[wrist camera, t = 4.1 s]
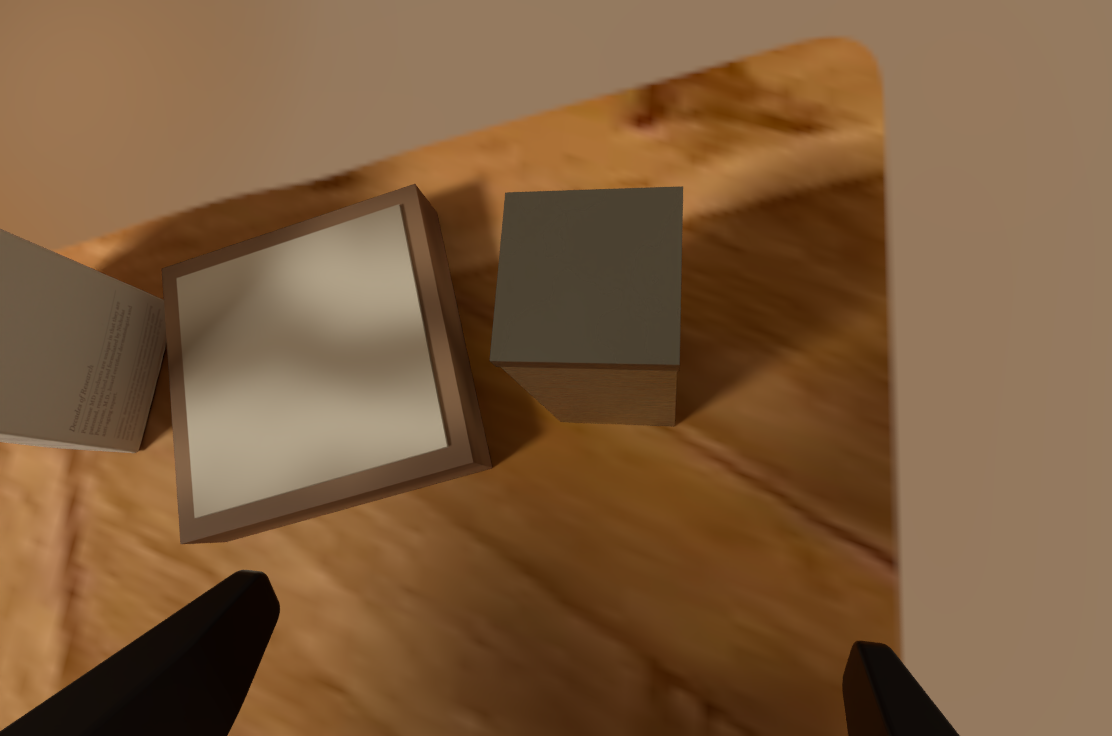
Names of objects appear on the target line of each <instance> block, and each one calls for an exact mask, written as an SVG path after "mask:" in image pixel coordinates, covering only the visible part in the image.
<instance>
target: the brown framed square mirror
mask: <svg viewBox="0 0 1112 736" xmlns="http://www.w3.org/2000/svg"><path fill="white" fill-rule="evenodd" d="M162 280H163V295H164V310H165V324H166V339H167V353H168V368H169V382H170V397H171V411H172V426H173V441H174V455H175V470H176V484H177V499H178V513H179V528H180V542H181V544H195V543H217V542H228V541H231V540H235V539H239V538H242V537H246V536H249V535H253V534H257V533H260V532H264V531H267V530H271V529H275V528H278V527H282V526H285V525H289V524H293V523H296V522H300V521H303V520H307V519H311V518H314V517H318V516H321V515H325V514H329V513H332V512H336V511H339V510H343V509H347V508H350V507H354V506H357V505H361V504H365V503H368V502H372V501H375V500H379V499H383V498H386V497H390V496H393V495H397V494H401V493H404V492H408V491H411V490H415V489H419V488H422V487H426V486H430V485H433V484H437V483H440V482H444V481H448V480H451V479H455V478H458V477H462V476H466V475H469V474H473V473H476V472H480V471H484V470H487V469H491V468H492V464H491V460H490V455H489V451H488V446H487V441H486V437H485V432H484V428H483V423H482V418H481V414H480V409H479V405H478V400H477V395H476V391H475V386H474V382H473V377H472V372H471V368H470V363H469V359H468V354H467V349H466V345H465V340H464V335H463V331H462V326H461V322H460V317H459V312H458V308H457V303H456V299H455V294H454V289H453V285H452V280H451V276H450V271H449V266H448V262H447V257H446V253H445V248H444V243H443V239H442V234H441V230H440V225H439V220H438V216H437V212H436V211H435V209H434V208H433V207H432V206H431V204H430V203H429V202H428V200H427V199H426V198H425V196H424V195H423V194H422V192H421V191H420V190H419V188H418V187H417V186H416V184H413V185H410V186H407V187H404V188H401V189H398V190H395V191H392V192H389V193H386V194H383V195H380V196H377V197H374V198H371V199H368V200H365V201H362V202H359V203H356V204H353V205H350V206H347V207H344V208H341V209H338V210H335V211H332V212H329V213H326V214H323V215H320V216H317V217H314V218H311V219H309V220H306V221H303V222H300V223H297V224H294V225H291V226H288V227H285V228H282V229H279V230H276V231H273V232H270V233H267V234H264V235H261V236H258V237H255V238H252V239H249V240H246V241H243V242H240V243H237V244H234V245H231V246H228V247H225V248H222V249H219V250H216V251H213V252H210V253H207V254H204V255H201V256H198V257H195V258H192V259H189V260H186V261H183V262H180V263H177V264H174V265H171V266H168V267H165V268H162Z"/></svg>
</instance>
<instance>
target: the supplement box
mask: <svg viewBox="0 0 1112 736" xmlns="http://www.w3.org/2000/svg"><path fill="white" fill-rule="evenodd" d="M166 343H167V339H166V324H165V310H164V300H163V299H161V298H158V297H156V296H154V295H152V294H149V293H147V292H145V291H143V290H140V289H138V288H136V287H134V286H131V285H129V284H127V283H124V282H122V281H120V280H118V279H115V278H113V277H110V276H108V275H106V274H103V273H101V272H99V271H96V270H94V269H92V268H90V267H87V266H85V265H83V264H80V263H78V262H76V261H74V260H71V259H69V258H67V257H64V256H62V255H60V254H58V253H55V252H53V251H51V250H48V249H46V248H44V247H41V246H39V245H37V244H34V243H32V242H30V241H27V240H25V239H23V238H20V237H18V236H16V235H13V234H11V233H9V232H7V231H4V230H2V229H0V442H6V443H14V444H22V445H31V446H41V447H51V448H63V449H78V450H94V451H110V452H127V453H136V452H138V451H139V448H140V444H141V441H142V437H143V433H144V430H145V426H146V422H147V418H148V414H149V410H150V406H151V402H152V398H153V395H154V391H155V386H156V382H157V379H158V375H159V371H160V368H161V363H162V359H163V354H164V351H165V347H166Z"/></svg>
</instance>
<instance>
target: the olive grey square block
mask: <svg viewBox="0 0 1112 736" xmlns="http://www.w3.org/2000/svg"><path fill="white" fill-rule="evenodd" d="M682 216H683V187H654V188H625V189H596V190H567V191H538V192H509V193H505V202H504V213H503V224H502V234H501V245H500V256H499V266H498V277H497V287H496V298H495V309H494V319H493V330H492V341H491V351H490V362H491V363H492V364H493V365H495V366H496V367H501V368H502V369H503V370H504V371H505V372H506V373H508V374H509V375H510V376H511V377H512V378H513V379H514V380H515V381H516V382H517V383H519V384H520V385H521V386H522V387H523V388H524V389H525V390H526V391H527V392H528V393H530V394H531V395H532V396H533V397H534V398H535V399H536V400H537V401H538V402H539V403H541V404H542V405H543V406H544V407H545V408H546V409H547V410H548V411H549V412H551V413H552V414H553V415H554V416H555V417H556V418H557V419H558V420H559V421H560V422H572V423H598V424H624V425H650V426H675V409H676V385H677V371H679V367H680V319H681V268H682Z"/></svg>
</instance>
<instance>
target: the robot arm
mask: <svg viewBox="0 0 1112 736" xmlns="http://www.w3.org/2000/svg"><path fill="white" fill-rule="evenodd" d="M279 613H280V604H279V601H278V599H277V596H276V594H275V592H274V590H273V587H272V585H271V583H270V581H269V578H268V576H267V575H266V574H265V573H263V572H260V571H252V570H240V571H237V572H235V573H233V574H232V575H230V576H229V577H227V578H226V579H224V580H223V581H222V582H220V583H219V584H217V585H216V586H214V587H213V588H211V589H210V590H208V591H207V592H205V593H204V594H202V595H201V596H199V597H198V598H196V599H195V600H193V601H192V602H191V603H189V604H188V605H186V606H185V607H183V608H182V609H180V610H179V611H177V612H176V613H174V614H173V615H171V616H170V617H168V618H167V619H165V620H164V621H162V622H161V623H159V624H158V625H157V626H155V627H154V628H152V629H151V630H149V631H148V632H146V633H145V634H143V635H142V636H140V637H139V638H137V639H136V640H134V641H133V642H131V643H130V644H128V645H127V646H126V647H124V648H123V649H121V650H120V651H118V652H117V653H115V654H114V655H112V656H111V657H109V658H108V659H106V660H105V661H103V662H102V663H100V664H99V665H97V666H96V667H94V668H93V669H92V670H90V671H89V672H87V673H86V674H84V675H83V676H81V677H80V678H78V679H77V680H75V681H74V682H72V683H71V684H69V685H68V686H66V687H65V688H63V689H62V690H60V691H59V692H58V693H56V694H55V695H53V696H52V697H50V698H49V699H47V700H46V701H44V702H43V703H41V704H40V705H38V706H37V707H35V708H34V709H32V710H31V711H29V712H28V713H27V714H25V715H24V716H22V717H21V718H19V719H18V720H16V721H15V722H13V723H12V724H10V725H9V726H7V727H6V728H4V729H3V730H1V731H0V736H227V735H228V733H229V731H230V729H231V727H232V725H233V723H234V721H235V719H236V717H237V715H238V713H239V711H240V709H241V707H242V704H243V702H244V700H245V698H246V695H247V693H248V691H249V688H250V686H251V683H252V681H253V679H254V676H255V674H256V671H257V669H258V666H259V664H260V662H261V659H262V657H263V654H264V652H265V650H266V647H267V645H268V642H269V640H270V638H271V635H272V633H273V630H274V628H275V626H276V623H277V621H278V618H279ZM842 686H843V698H844V706H845V713H846V721H847V729H848V736H959V734H958V733H957V732H956V731H955V729H954V728H953V727H952V725H951V724H950V723H949V722H948V720H947V719H946V718H945V716H944V715H943V714H942V713H941V711H940V710H939V709H938V708H937V706H936V705H935V704H934V702H933V701H932V700H931V699H930V698H929V696H928V695H927V694H926V693H925V691H924V690H923V688H922V687H921V686H920V685H919V683H918V682H917V681H916V680H915V678H914V677H913V676H912V675H911V673H910V672H909V671H908V669H907V668H906V667H905V666H904V664H903V663H902V662H901V660H900V659H899V658H898V657H897V655H896V654H895V653H894V652H893V650H892V649H891V648H890V647H888V646H887V645H885V644H882V643H875V642H867V641H856V642H855V643H854V644H853V646H852V648H851V651H850V655H849V658H848V661H847V665H846V668H845V671H844V674H843V684H842Z"/></svg>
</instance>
